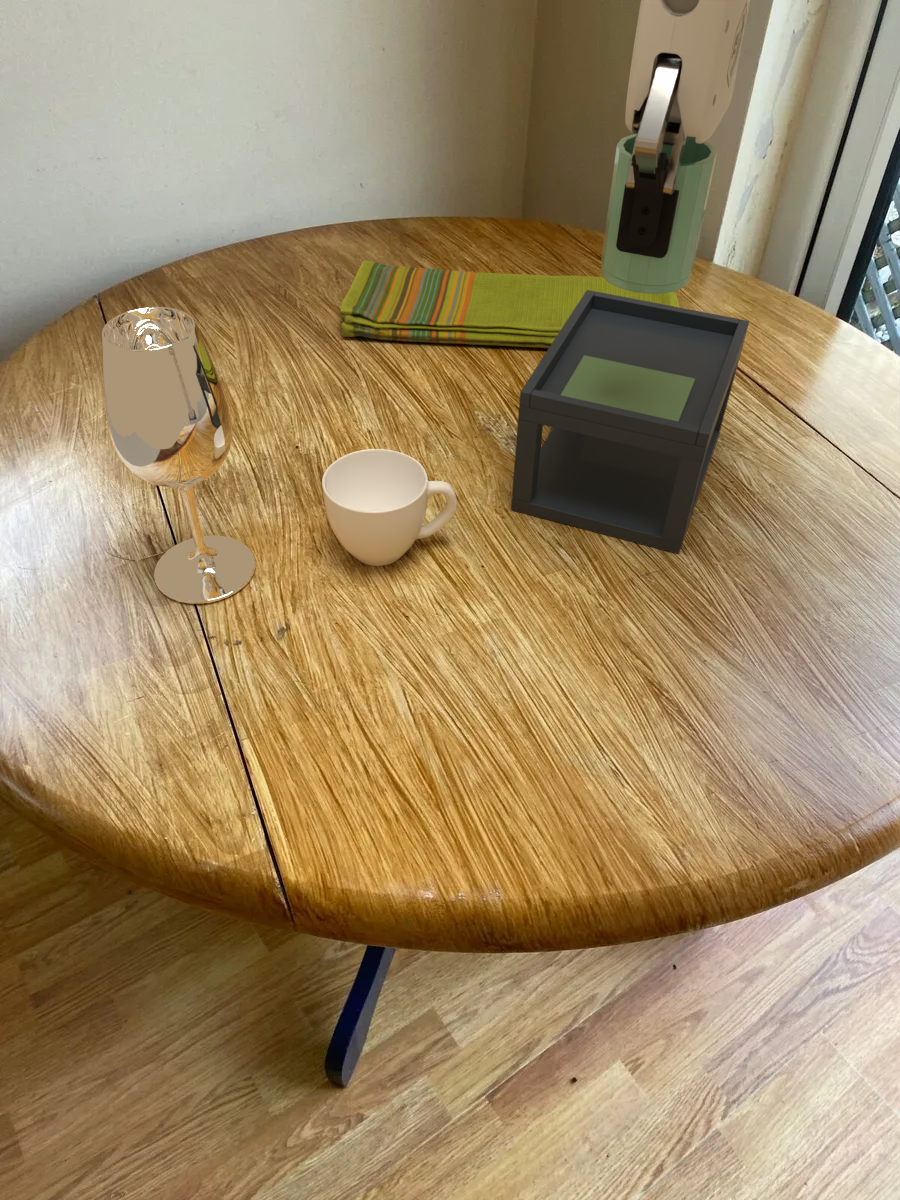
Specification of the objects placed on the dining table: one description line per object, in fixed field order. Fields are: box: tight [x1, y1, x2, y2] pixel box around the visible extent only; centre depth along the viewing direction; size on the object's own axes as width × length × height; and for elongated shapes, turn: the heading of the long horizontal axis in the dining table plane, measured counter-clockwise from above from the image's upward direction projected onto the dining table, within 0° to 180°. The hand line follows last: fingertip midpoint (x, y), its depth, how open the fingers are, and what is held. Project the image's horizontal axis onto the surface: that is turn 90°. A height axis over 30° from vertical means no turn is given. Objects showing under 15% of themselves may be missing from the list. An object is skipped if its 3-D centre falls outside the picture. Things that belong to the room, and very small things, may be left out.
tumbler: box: [600, 133, 718, 294], centre depth 58 cm, size 6×6×8 cm
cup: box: [321, 448, 458, 567], centre depth 69 cm, size 8×10×7 cm
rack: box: [510, 290, 750, 555], centre depth 75 cm, size 14×18×11 cm
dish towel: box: [339, 259, 681, 349], centre depth 98 cm, size 15×36×3 cm, turn 85°
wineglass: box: [101, 306, 257, 605], centre depth 62 cm, size 8×8×20 cm
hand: (653, 229), depth 59 cm, fingers closed on tumbler, 6 cm apart
